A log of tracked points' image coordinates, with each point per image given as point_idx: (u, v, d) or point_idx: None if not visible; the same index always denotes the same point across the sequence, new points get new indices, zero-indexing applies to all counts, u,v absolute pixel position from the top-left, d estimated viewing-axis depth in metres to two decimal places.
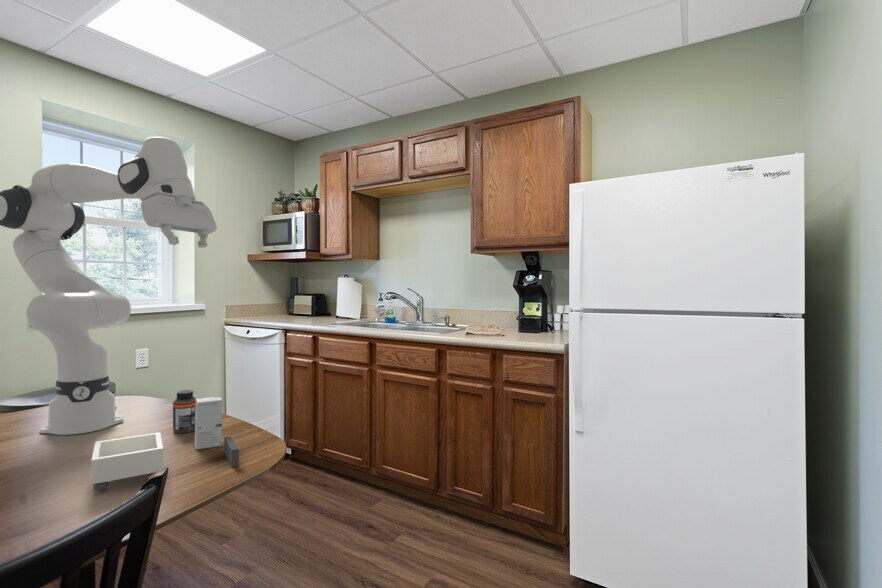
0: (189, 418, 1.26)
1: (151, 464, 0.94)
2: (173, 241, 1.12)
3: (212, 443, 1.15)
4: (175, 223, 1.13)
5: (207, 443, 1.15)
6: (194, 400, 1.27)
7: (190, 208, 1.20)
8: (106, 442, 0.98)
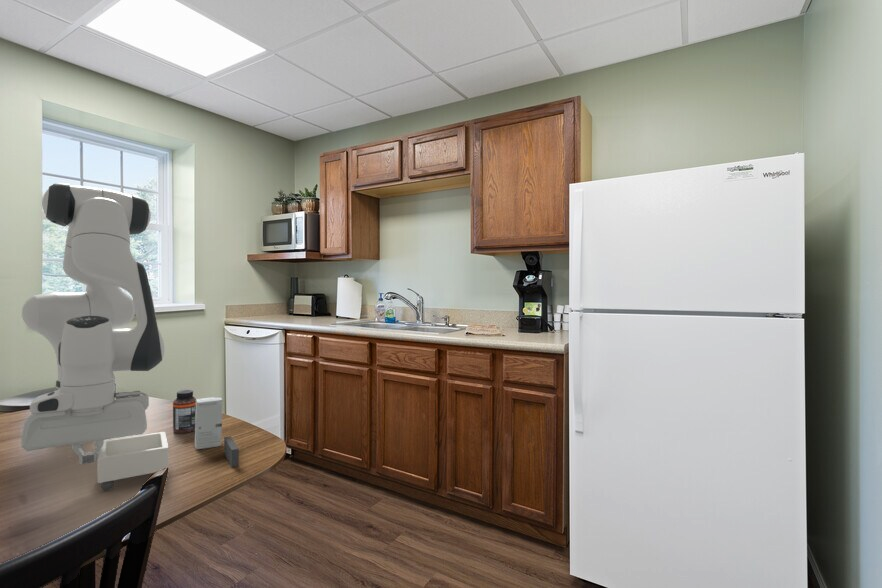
0: (189, 418, 1.26)
1: (156, 463, 0.94)
2: None
3: (212, 443, 1.15)
4: (59, 445, 0.89)
5: (207, 443, 1.15)
6: (194, 400, 1.27)
7: (100, 414, 0.92)
8: (111, 441, 0.99)
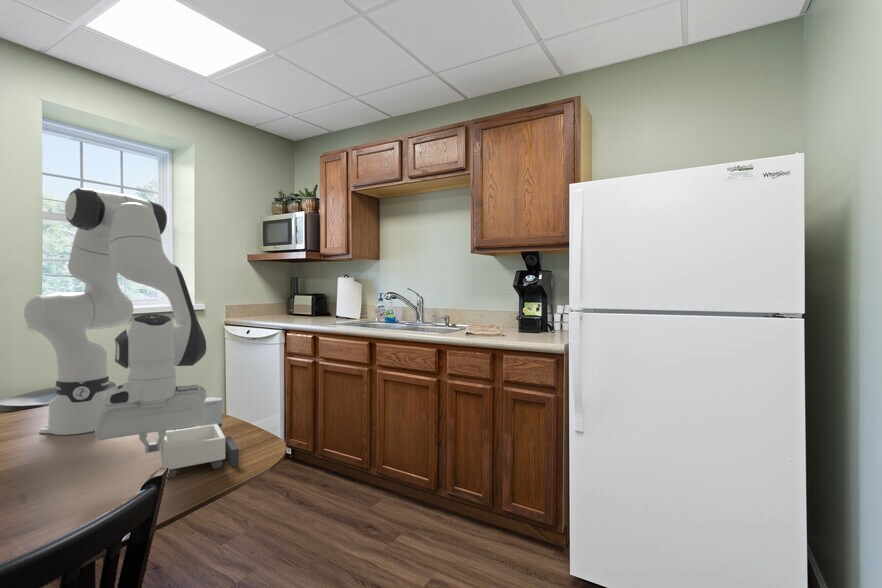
0: None
1: (215, 452, 1.01)
2: None
3: None
4: (128, 435, 0.95)
5: None
6: None
7: (163, 406, 0.98)
8: (170, 432, 1.05)
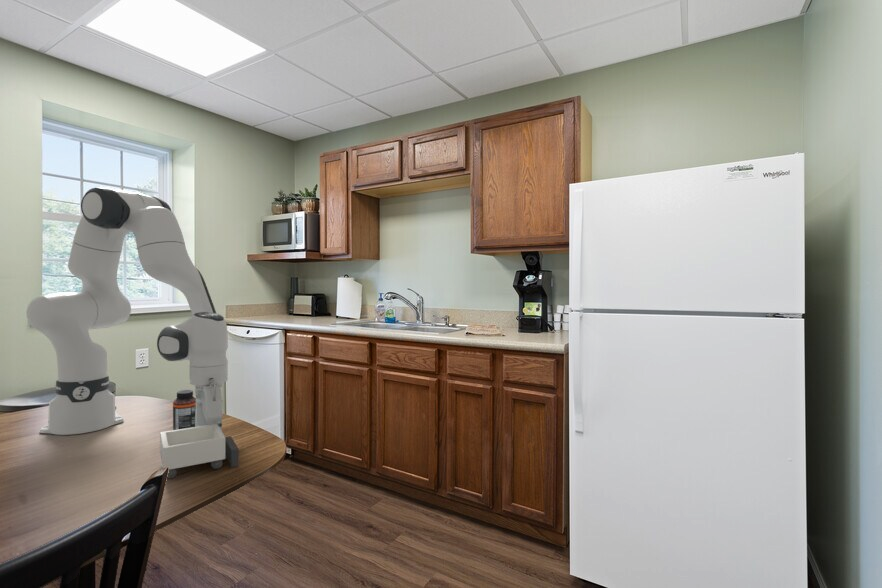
0: (189, 418, 1.26)
1: (215, 452, 1.01)
2: None
3: None
4: None
5: None
6: (194, 400, 1.27)
7: (202, 391, 1.14)
8: (170, 432, 1.05)
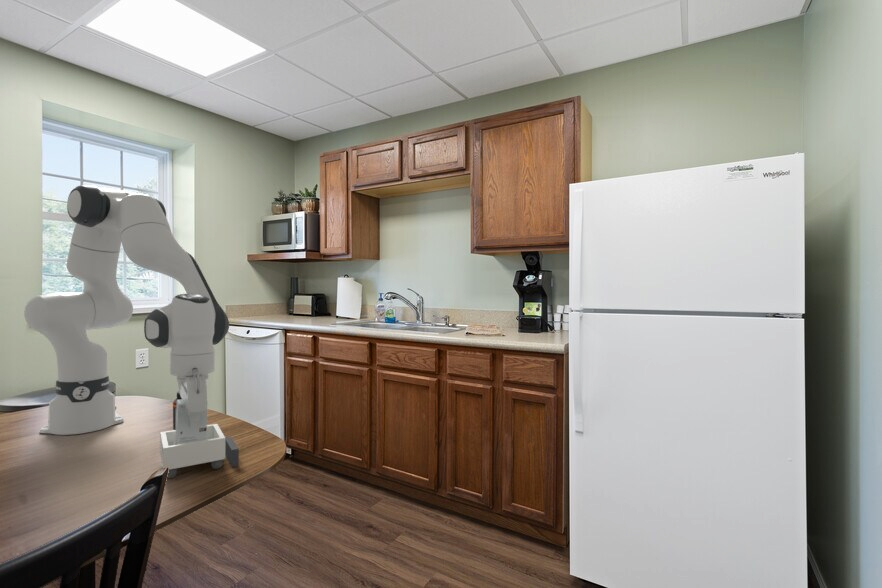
0: None
1: (215, 452, 1.01)
2: None
3: None
4: None
5: None
6: None
7: (185, 383, 1.00)
8: (170, 432, 1.05)
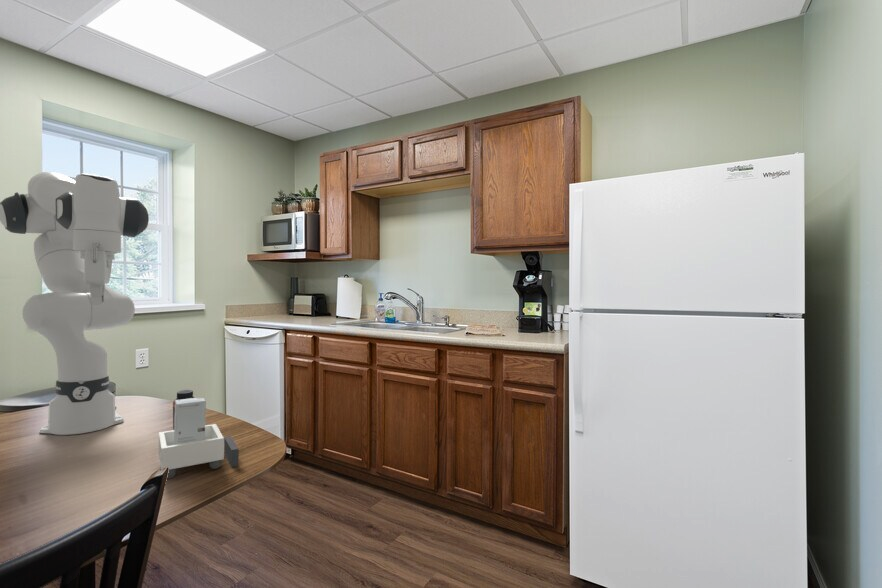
0: None
1: (213, 453, 1.00)
2: None
3: None
4: None
5: None
6: None
7: None
8: (168, 433, 1.05)
